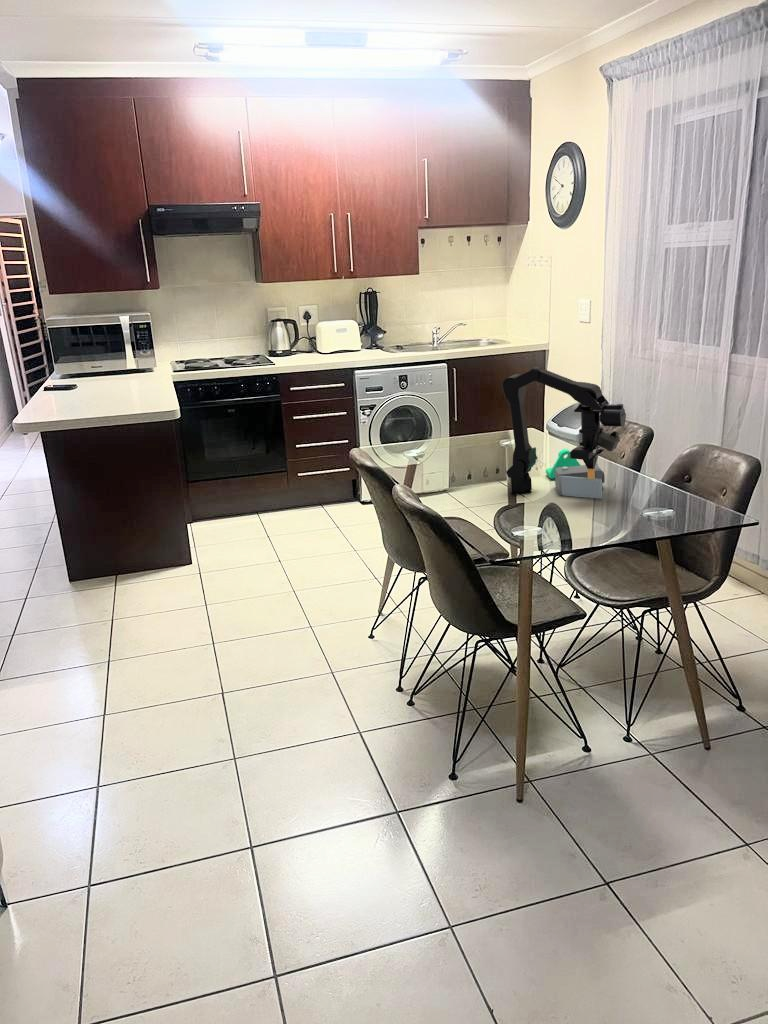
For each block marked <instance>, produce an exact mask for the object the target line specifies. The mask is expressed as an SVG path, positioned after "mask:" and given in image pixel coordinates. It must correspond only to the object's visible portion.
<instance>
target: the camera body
mask: <svg viewBox="0 0 768 1024" xmlns="http://www.w3.org/2000/svg"><path fill="white" fill-rule="evenodd" d="M580 465H581V464H580ZM587 469H588V468H587V467H586V465H585V464H583V465H581V466H570V467H559V468H555V478H554V482H555V489H556V491H557V490H558V491H557V493H558V492H559V476H571V477H584V478H588V472H587ZM594 472H595V478H596V479H602V484H604V483H605V479H606V478H605V473H604V471H603V470H602V469H601V467H600V466H599V465H598V463H596V466H595V469H594Z"/></svg>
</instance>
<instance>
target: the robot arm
mask: <svg viewBox="0 0 768 1024" xmlns="http://www.w3.org/2000/svg"><path fill="white" fill-rule="evenodd" d="M533 382H537V383H540V384H542V385H545V386H547V387H549V388H552V389H553V390H554V389H555V390H557V391H559V392H562V393H564V394H566V395H569V396H570V397H571V398H572V399H573V400H574V401H576V402H577V403H579V404H578V405H577V407H576V408H575V409H574V410H573V413H580V425H581V426H580V427H581V428H580V429H578V434H581V441H579V446H576V447H574V448H573V449H571V451H570V458H571V459H576V460H582V461H583V463H584V465H586V467H587V468H591V469H595V466H596V464H597V462H598V458H599V456H600V455H601V454H603V452H604V451H605V450H607V451H608V452H613V451H614V450H615V449H617V447H618V444H619V443H620V442H621V437H620V435H619V432H618V431H615V430H613V431H612V432H611V433H609V432H608V433H606V432H604V428H603V426H604V427H620V428H621V427H622V428H623V427H624V426H625V423H626V420H627V413H626V409H625V407H624V403H617V404H610V402H609V401H608V400H607V398H606V397H605V396H604V394H603V393H602V389H601V387H600V386H599V385H598V384H596V383H591V382H585V381H584V382H583V381H576V380H572V379H571V378H568V377H565V376H562V375H560V374H558V373H554V372H552V371H550V370H547V369H544V368H543V367H542V366H534V367H533V368H531V369H530V370H528V371H527V372H524V373H522V374H520V373H516V374H513V375H511V376H508V377H507V378H505V379H504V380H503V382H502V384H501V387H502V392H503V395H504V397H505V399H506V400H507V402H508V404H509V409H510V416H511V417H510V419H511V425H512V432H513V439H514V449H513V453H512V454H513V455H512V465H511V466H510V467H508V470H506V476H507V478H509V481H510V484H509V485H510V488H509V490H510V493H511V496H512V495H513V496H514V495H525V494H532V490H533V487H532V486H533V485H532V484H533V483H532V477H531V476H530V473H529V472H531V471H532V468H533V467H534V466H535V465H536V463H537V460H538V456H537V448H536V446H535V447H532V446H531V444H530V441H529V433H528V432H529V431H528V424H527V418H526V417H527V416H526V408H525V398H526V393H527V385H530V384H531V383H533ZM601 425H603V426H601ZM602 448H603V449H602Z"/></svg>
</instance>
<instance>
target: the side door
mask: <svg viewBox="0 0 768 1024" xmlns="http://www.w3.org/2000/svg"><path fill="white" fill-rule="evenodd" d="M587 472H588V478H584V477H571V476H559V493H558V495H559V494H560V495H559V496H567V497H579V498H580V497H581V498H588V497H589V499H601V500H602V499H603V483H602V479H596V478H595V472H594V469H591V468H588V469H587Z"/></svg>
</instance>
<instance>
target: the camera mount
mask: <svg viewBox="0 0 768 1024" xmlns="http://www.w3.org/2000/svg"><path fill="white" fill-rule="evenodd" d="M570 452H571V451H570V450H568V449H567V448H563V449H561V450H559V452H558V457H557V459H556V461H555V462H554V464H553V466H552V467H549V468H546V469H545V473H546V475H547V476H548V477H549V479H551V480H552V479H555V468H559V467H570V466H581V464H580V462H579V460H578V459H571V458H570ZM566 455H567V456H566ZM565 456H566V457H565Z"/></svg>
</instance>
